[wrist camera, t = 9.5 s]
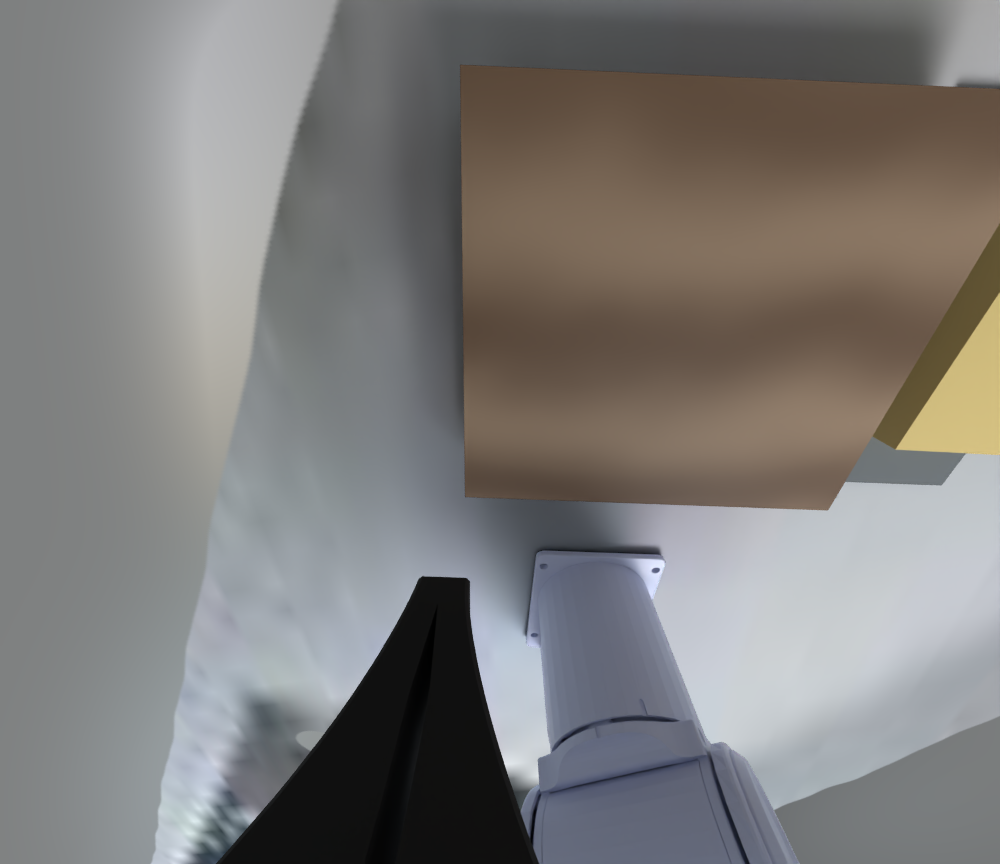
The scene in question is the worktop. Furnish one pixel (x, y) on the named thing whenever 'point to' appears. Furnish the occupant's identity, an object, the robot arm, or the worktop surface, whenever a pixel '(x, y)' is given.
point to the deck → (704, 276)
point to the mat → (902, 465)
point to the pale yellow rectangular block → (955, 374)
